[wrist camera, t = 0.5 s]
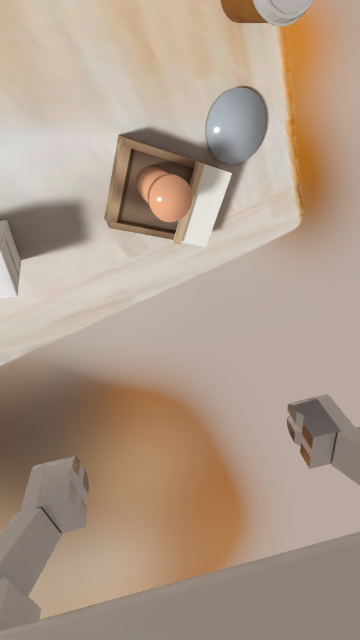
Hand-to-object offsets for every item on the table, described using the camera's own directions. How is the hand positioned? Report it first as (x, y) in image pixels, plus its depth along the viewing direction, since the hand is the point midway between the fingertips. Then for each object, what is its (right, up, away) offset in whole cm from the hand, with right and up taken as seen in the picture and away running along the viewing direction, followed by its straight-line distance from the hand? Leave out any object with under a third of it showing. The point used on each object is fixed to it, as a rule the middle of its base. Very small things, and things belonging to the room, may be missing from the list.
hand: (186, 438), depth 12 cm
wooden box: (-4, +27, +43) cm, 51 cm away
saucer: (+9, +37, +41) cm, 56 cm away
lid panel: (+3, +24, +41) cm, 48 cm away
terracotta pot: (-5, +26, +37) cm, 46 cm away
